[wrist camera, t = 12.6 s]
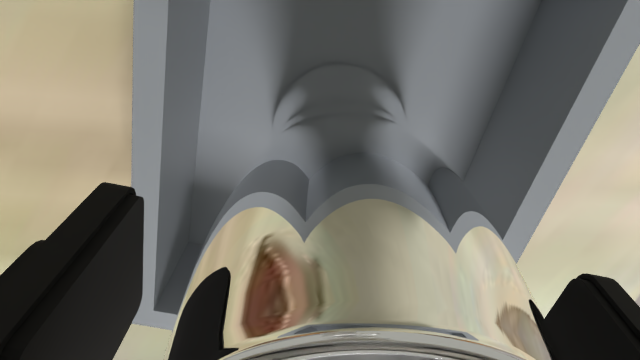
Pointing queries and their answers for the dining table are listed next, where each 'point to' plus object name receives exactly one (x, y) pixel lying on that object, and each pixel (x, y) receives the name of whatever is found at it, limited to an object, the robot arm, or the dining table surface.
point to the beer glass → (354, 246)
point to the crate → (390, 64)
